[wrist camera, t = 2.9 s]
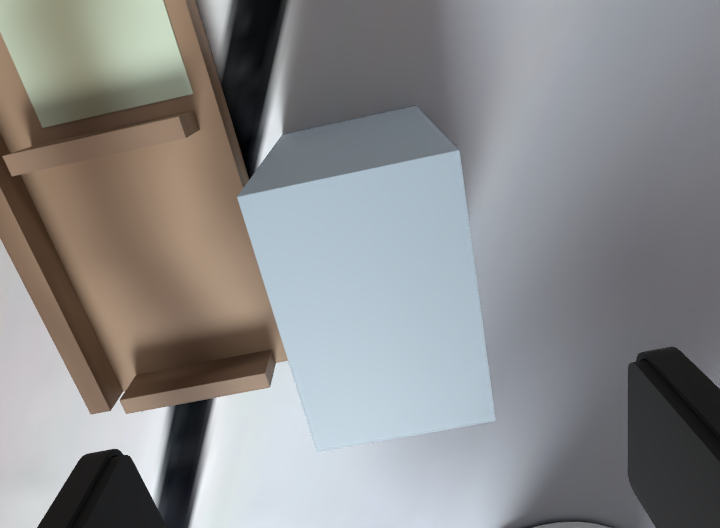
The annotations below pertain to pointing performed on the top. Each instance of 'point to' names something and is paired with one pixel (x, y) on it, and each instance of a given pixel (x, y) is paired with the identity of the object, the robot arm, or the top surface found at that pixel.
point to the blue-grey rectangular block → (372, 277)
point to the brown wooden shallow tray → (130, 202)
